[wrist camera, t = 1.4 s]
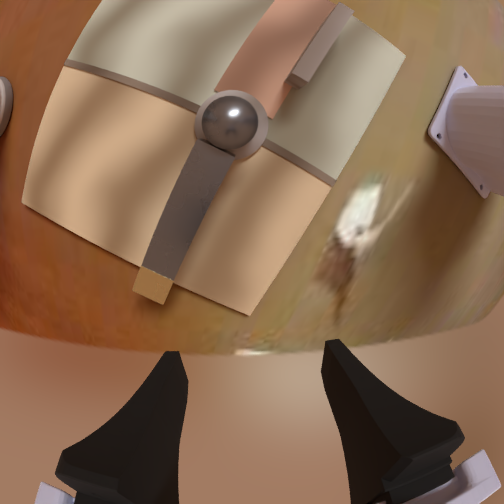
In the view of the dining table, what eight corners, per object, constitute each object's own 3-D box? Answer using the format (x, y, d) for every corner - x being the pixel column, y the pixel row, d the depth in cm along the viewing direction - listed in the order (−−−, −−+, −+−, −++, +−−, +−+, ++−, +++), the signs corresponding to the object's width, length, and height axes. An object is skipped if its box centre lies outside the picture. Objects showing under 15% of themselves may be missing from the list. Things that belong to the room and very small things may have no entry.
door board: (401, 57, 14) (427, 48, 11) (249, 311, 22) (251, 339, 19) (151, -52, 9) (140, -73, 6) (25, 200, 17) (0, 212, 14)
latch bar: (221, 94, 14) (218, 86, 12) (263, 115, 15) (268, 111, 13) (138, 272, 19) (126, 291, 16) (173, 288, 19) (165, 310, 17)
